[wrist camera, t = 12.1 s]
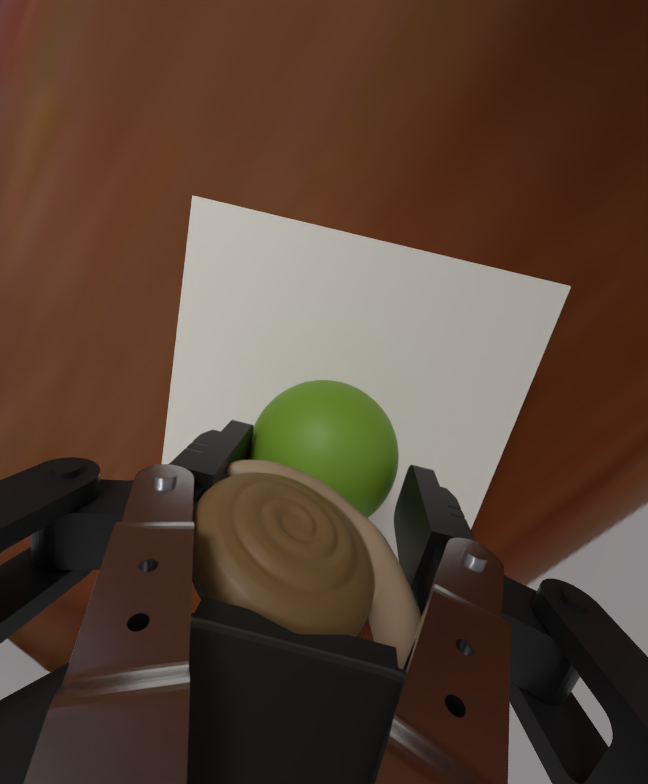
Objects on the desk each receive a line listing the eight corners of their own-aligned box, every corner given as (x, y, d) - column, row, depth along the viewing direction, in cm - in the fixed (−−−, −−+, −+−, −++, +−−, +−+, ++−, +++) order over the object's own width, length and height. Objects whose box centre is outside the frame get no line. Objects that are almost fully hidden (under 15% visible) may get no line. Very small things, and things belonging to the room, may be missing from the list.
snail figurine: (371, 513, 17) (371, 963, 6) (249, 444, 17) (2, 771, 6) (439, 419, 16) (623, 786, 4) (306, 341, 15) (121, 508, 4)
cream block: (231, 216, 20) (192, 195, 16) (520, 285, 20) (571, 286, 15) (194, 471, 25) (155, 516, 20) (428, 531, 25) (445, 591, 20)
